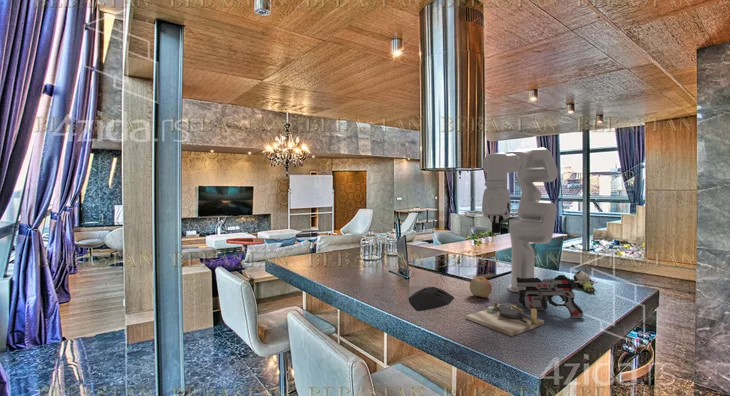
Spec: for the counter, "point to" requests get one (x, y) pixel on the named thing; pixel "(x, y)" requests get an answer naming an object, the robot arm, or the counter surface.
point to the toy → (584, 281)
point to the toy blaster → (548, 293)
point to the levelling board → (502, 321)
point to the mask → (430, 299)
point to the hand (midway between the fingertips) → (496, 232)
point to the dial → (517, 312)
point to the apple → (480, 287)
